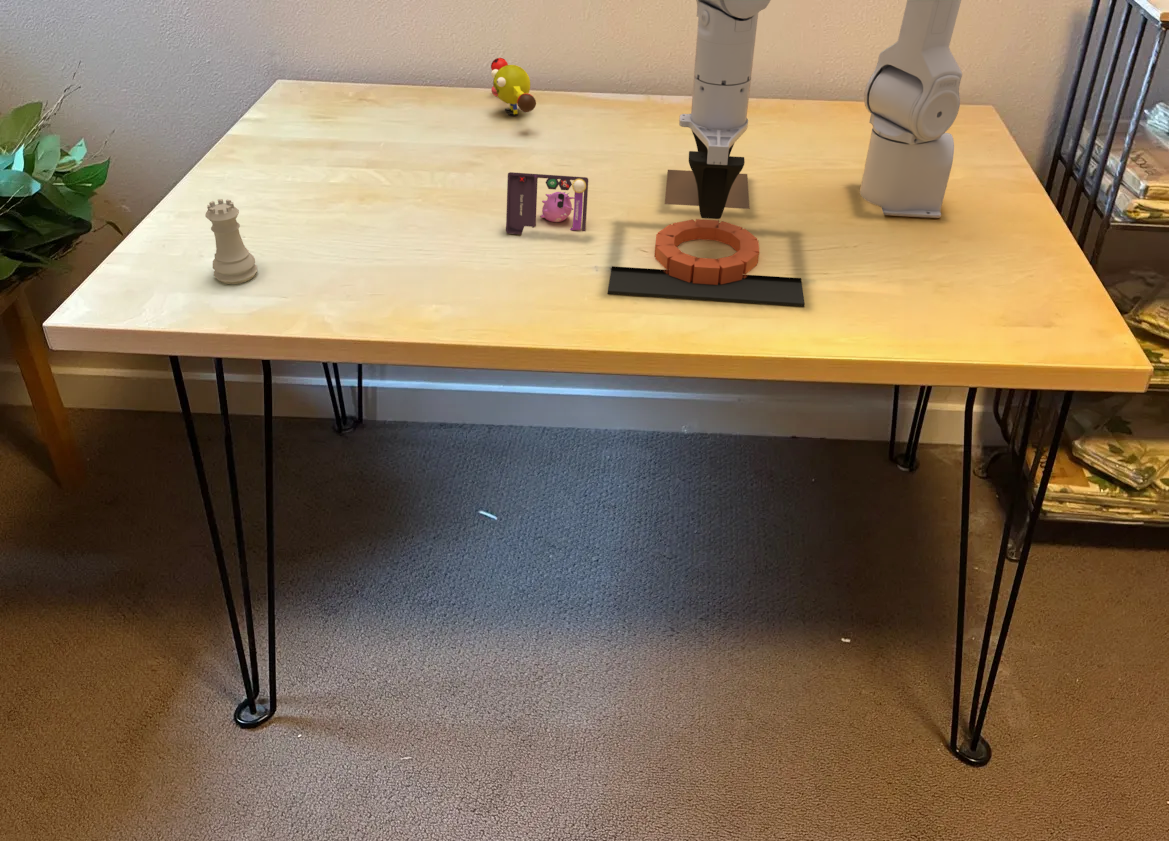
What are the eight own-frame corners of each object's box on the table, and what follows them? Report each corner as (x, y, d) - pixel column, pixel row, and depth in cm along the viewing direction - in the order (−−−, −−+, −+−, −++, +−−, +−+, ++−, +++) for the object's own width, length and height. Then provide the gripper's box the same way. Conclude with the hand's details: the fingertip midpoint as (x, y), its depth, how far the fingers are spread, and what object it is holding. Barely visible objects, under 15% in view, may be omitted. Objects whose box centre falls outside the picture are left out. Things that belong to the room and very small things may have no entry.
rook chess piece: (241, 260, 105) (226, 191, 100) (267, 273, 103) (252, 203, 98) (205, 276, 102) (187, 205, 97) (231, 290, 100) (213, 218, 95)
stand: (746, 181, 123) (751, 142, 120) (748, 216, 115) (753, 176, 112) (667, 176, 123) (669, 138, 120) (663, 211, 116) (666, 171, 113)
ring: (755, 238, 110) (757, 222, 108) (758, 287, 101) (760, 270, 100) (657, 232, 110) (658, 216, 109) (652, 281, 102) (653, 264, 100)
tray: (793, 234, 111) (794, 231, 111) (804, 306, 99) (804, 303, 98) (619, 224, 113) (619, 221, 113) (607, 294, 100) (607, 290, 100)
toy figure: (479, 94, 146) (476, 47, 142) (515, 90, 148) (513, 44, 143) (508, 138, 133) (506, 89, 129) (547, 134, 134) (546, 85, 130)
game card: (506, 172, 108) (587, 178, 107) (515, 169, 112) (592, 175, 112) (504, 234, 110) (583, 240, 109) (513, 228, 115) (589, 234, 114)
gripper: (684, 51, 104) (675, 172, 112) (680, 99, 92) (671, 229, 101) (751, 54, 103) (737, 175, 112) (755, 103, 92) (740, 233, 100)
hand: (710, 201), depth 106 cm, fingers open, 7 cm apart
